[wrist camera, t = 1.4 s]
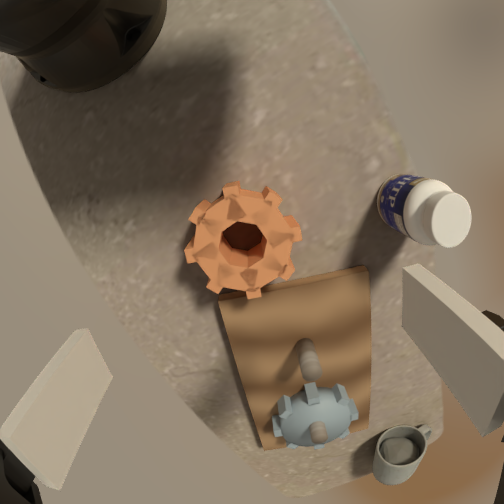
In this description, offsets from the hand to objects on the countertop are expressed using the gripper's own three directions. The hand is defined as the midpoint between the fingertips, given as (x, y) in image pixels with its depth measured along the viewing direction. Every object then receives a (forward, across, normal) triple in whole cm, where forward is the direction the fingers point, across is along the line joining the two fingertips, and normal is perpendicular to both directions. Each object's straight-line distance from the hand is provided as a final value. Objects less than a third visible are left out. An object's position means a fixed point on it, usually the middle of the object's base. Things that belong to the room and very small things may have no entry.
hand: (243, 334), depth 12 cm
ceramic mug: (+16, +16, -36) cm, 43 cm away
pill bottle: (+17, +15, 0) cm, 22 cm away
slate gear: (+15, +3, -22) cm, 27 cm away
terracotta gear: (+16, 0, 0) cm, 17 cm away
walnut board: (+16, +3, -17) cm, 24 cm away
